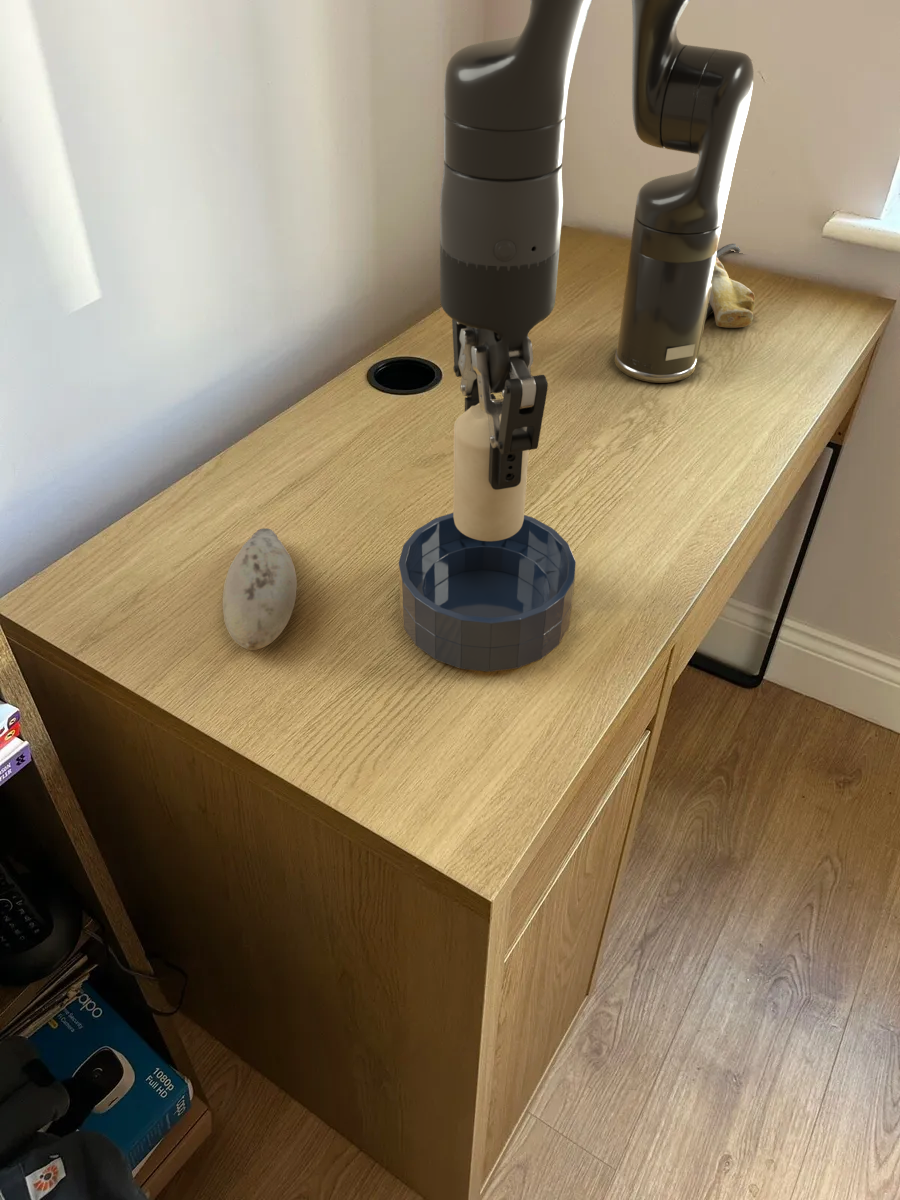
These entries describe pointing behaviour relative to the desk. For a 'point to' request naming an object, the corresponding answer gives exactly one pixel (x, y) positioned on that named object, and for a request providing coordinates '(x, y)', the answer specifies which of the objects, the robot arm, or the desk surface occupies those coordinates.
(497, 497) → the candle
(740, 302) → the figurine
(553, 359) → the desk surface
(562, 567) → the bowl
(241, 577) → the decorative stone
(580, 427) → the desk surface
